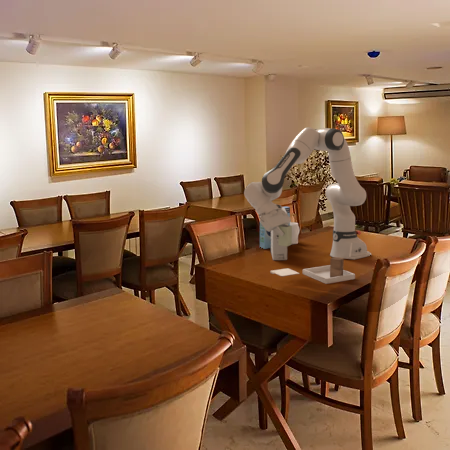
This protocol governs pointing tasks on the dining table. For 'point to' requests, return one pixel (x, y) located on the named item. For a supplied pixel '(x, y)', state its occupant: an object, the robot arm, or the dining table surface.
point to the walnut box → (336, 266)
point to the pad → (284, 272)
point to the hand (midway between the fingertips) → (286, 233)
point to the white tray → (327, 274)
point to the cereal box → (277, 246)
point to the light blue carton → (268, 233)
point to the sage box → (285, 235)
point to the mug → (294, 232)
